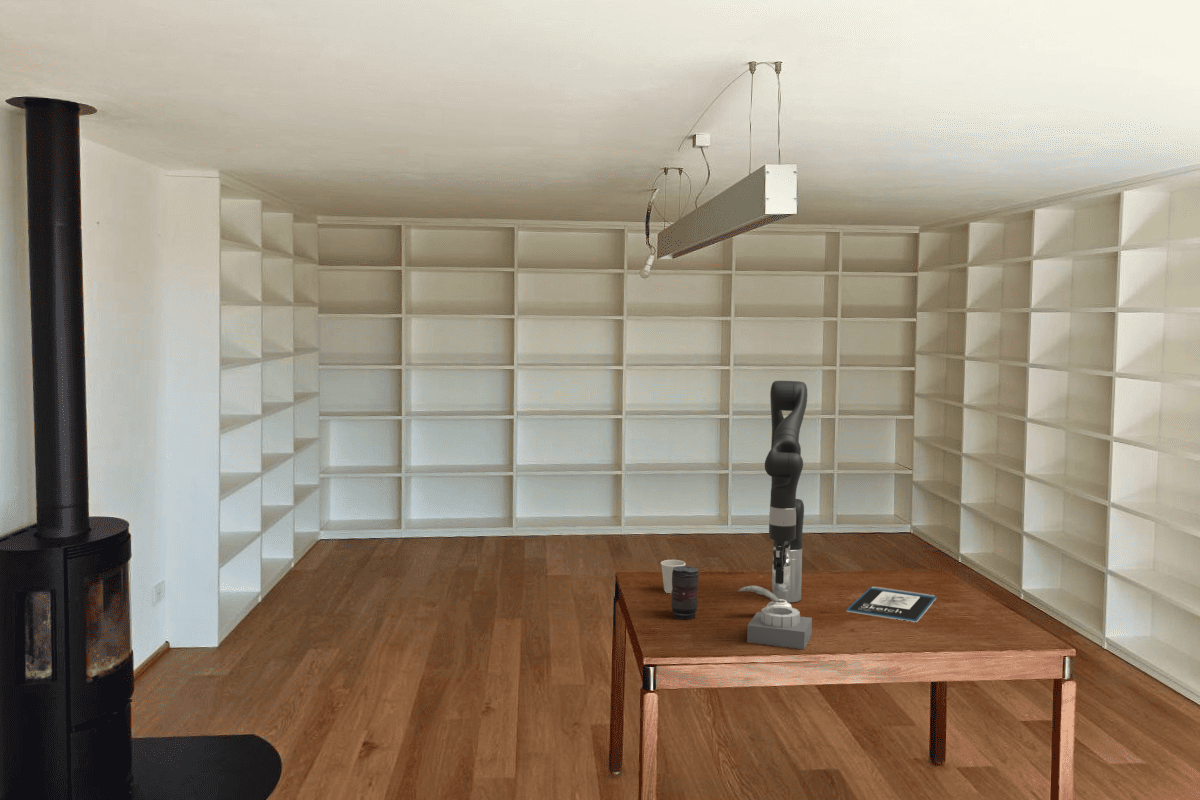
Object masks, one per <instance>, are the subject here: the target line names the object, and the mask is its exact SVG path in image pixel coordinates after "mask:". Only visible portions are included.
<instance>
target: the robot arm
mask: <svg viewBox="0 0 1200 800" xmlns="http://www.w3.org/2000/svg"><path fill="white" fill-rule="evenodd" d="M769 397H770V399H769V400H770V414H771V443H770V444H771V446H770V450H769V451H768V452H767V453H768V454H767V456H765V457H766V458H765V461H764V470H765V472H766V474H767V475H768V476H770V477H771V487H770V502H769V516H768V518H769V519H768V524H769V525H768V538H769V539H770V540H772V541H773V550H772V553H773V557H774V567H773V566H772V569H773V568H774V570H776V576H775V582H776V583H777V584H783V582H784V565H785V563H786V562H787V557H789V558H791V565H790V590H789V591H786V592H780V591H775V590H773V589H772V593H773V594H774V595H775V596H776V597H777V598H778V599H783V600H786V601H787V603H798V602H800V601H801V600H802V578H803V577H802V575H803V574H802V571H803V570H802V569H803V568H802V567H803V530H804V529H803V527H804V517H805V506H804V502H803V499H800V498H797V488H798V484H799V480H800V477H801V474H802V472H803V468H804V459H803V457H802V456H801V452H802V451H801V444H800V442H799V440H800V439H799V438H800V431H801V426H802V424H803V420H804V417H805V413H806V408H807V402H808V386H807V384H806V383H805V382H803V381H798V380H797V381H796V380H774V381H773V382H772V383H771V387H770V395H769ZM783 411H785V412H790V413H789V414H788V415H786V416H785V417H784V415H783ZM773 557H772V558H773ZM777 563H781V566H777Z"/></svg>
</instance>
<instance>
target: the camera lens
mask: <svg viewBox="0 0 1200 800" xmlns="http://www.w3.org/2000/svg"><path fill="white" fill-rule="evenodd" d="M698 587H699V569H698V568H696V567H695V566H688V565H685V566H677V567H674V568H673V571H672V592H671V594H670V595H671V611H672V613H673V617H674V618H675V619H677V618H678V619H677V620H683V619H687V620H692V619H694V618H695V617H696V613H697V612H698Z"/></svg>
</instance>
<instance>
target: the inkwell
mask: <svg viewBox="0 0 1200 800" xmlns="http://www.w3.org/2000/svg"><path fill="white" fill-rule="evenodd" d="M736 592H737V593H738V592H750V593H751V592H752V593H756V594H758V595H763V596H764V597H766V598H769V602H768V603H767V605H766V607H768V606H786V607H791V608H793V607H792V604H791V602H787V601H786V600H783V599H778V598H777V597H776V596H775V595H774V594H773V592H771V590H769V589H766V588H764V587H762V586H758V585H747V586H743V587H741V588H739V589H738V590H737V591H736ZM770 600H771V601H770Z"/></svg>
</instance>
